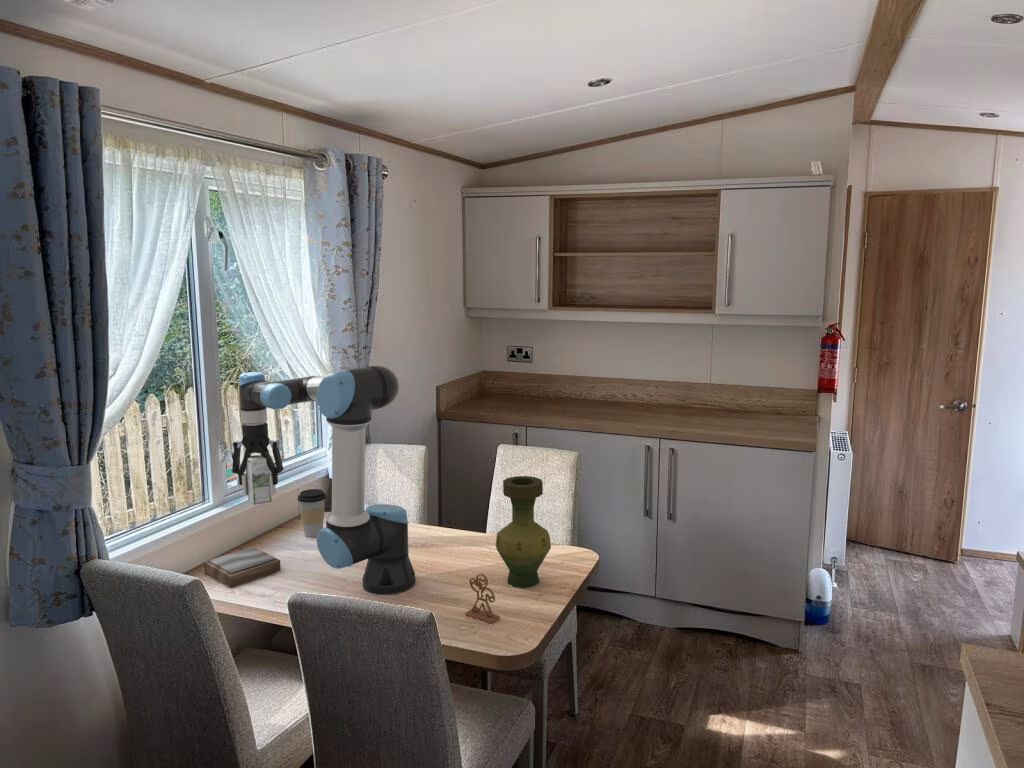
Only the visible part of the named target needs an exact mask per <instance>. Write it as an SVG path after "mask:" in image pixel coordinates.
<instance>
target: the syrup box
mask: <svg viewBox="0 0 1024 768" xmlns="http://www.w3.org/2000/svg"><path fill="white" fill-rule="evenodd" d="M245 471H246V472H245V473H247V488H248V494H247V500H248V502H249V503H251V504H252V505H254V506H255V505H259V504H264V503H265V504H266V503H271V502H272V500H273V499H272V496H271V495H270V480H269V475H270V474H271V472H270V470H269V468H268V466H267V464H266V459H265V458H263V456H262V455H261V453H258V454H253V455H251V456H249V457H248V459H247V464H246V470H245Z"/></svg>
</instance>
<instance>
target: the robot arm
mask: <svg viewBox="0 0 1024 768" xmlns="http://www.w3.org/2000/svg"><path fill="white" fill-rule="evenodd" d="M399 385H400V384H399V380H398V378H397V376H396V374H395V373H394V372H393V371H392V370H391V369H389V368H388V367H385V366H382V365H371V366H364V367H356V368H349V369H340V370H339V369H338V370H337V371H331V372H328V373H327V374H325V375H310V376H306V377H298V378H292V379H285V380H278V381H266V378H265V374H264V372H260V371H249V372H248V371H247V372H243V373H240V375H239V376H238V392H239V393H238V394H239V395H238V396H239V406H240V416H241V417H240V418H241V419H240V422H241V423H242V425H241V434H242V439H241V440H236V441H233V443H232V447H233V457H232V459H233V460H232V466H231V467H232V468H231V472H232V474H237V475H238V482H239V483H238V484H239V485H240V486H241V487H242V496H243V497H246V496H248V488H247V473H246V464H247V459H248V457H249V456H252V454H255V453H257V454H261V455H262V456H263V458H265V459H266V464H267V466H268V468H269V470H270V475H269V480H270V495H271V497H273V496H275V495H276V493H277V491H276V490H277V489H276V485H278V483H279V479H278V478H279V477H278V474H280V473H282V472H284V466H283V465H284V464H283V462H282V458H281V456H282V455H281V452H280V447H279V446H280V441H279V440H278V439H276V440H271V439H270V437H269V424H268V423H267V421H268V412H267V409H271V410H281V409H284V408H286V407H287V406H289V405H290V406H291V405H295V404H301V403H308V402H316V403H317V406H318V410H319V412H320V413H321V414H322V415H323V416H324V417H325V418H326V422H327V424H329V425H330V426H331V428H332V429H331V447H332V448H331V510H330V512H329V513H328V514H327V515H326V517H325V518H326V519H325V527H323V528H322V529H321V530H320V531H319V532H318V534H317V537H316V545H317V546H316V547H317V549H318V551H319V554H320V556H321V558H322V559H323V561H324V562H325V563H326V564H327V565H328V566H330V567H331V568H333V569H336V570H337V569H338V570H340V569H343V568H347V567H349V568H350V567H352V566H353V565H354V564H358V563H361V562H364V561H365V560H367V561H366V565H365V569H364V573H363V575H362V578H361V579H362V580H361V581H362V588H363V589H364V590H365V591H366V592H368V593H370V594H374V593H376V594H375V595H394V594H393V593H395V594H399V593H404V592H405V591H408V590H410V589H411V588H413V587H414V586H415V585H416V573H415V570H414V567H413V565H412V562H411V559H410V555H409V527H408V524H409V521H408V513H407V510H406V509H405V508H404V507H402V506H400V505H396V504H387V503H386V504H385V503H377V504H372V505H368V506H367V507H366V508H365V491H366V489H365V487H366V486H365V485H366V484H365V483H366V481H365V480H366V476H365V474H366V428H367V426H368V425H369V424H370V423H371V422H372V413H373V412H372V411H375V410H378V409H382V408H385V407H387V406H389V405H390V404H392V403H393V402H394V401H395V399H396V398H397V396H398V394H399V389H400V386H399ZM269 445H270V447H271V452H272V455H273V459H274V461H273V459H272V456H271V454H270V450H269V449H268V446H269ZM242 447H244V448H245V452H244V456H243V458H242V461H241V453H242V451H241V450H242ZM240 461H241V462H240ZM240 463H241V464H240Z"/></svg>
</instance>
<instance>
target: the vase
mask: <svg viewBox="0 0 1024 768" xmlns="http://www.w3.org/2000/svg"><path fill="white" fill-rule="evenodd" d="M543 486H544V484H543V480H542V479H541V478H538V477H536V476H530V475H529V476H528V475H520V476H519V475H516V476H511V477H507V478H506V479H504V480H503V481H502V493H503V496H504V497H507V498H509V500H510V502H511V506H512V507H511V509H512V511H511V516H512V517H511V522H509V523H507V525H505V526H504V527H503V528H501V529H500V530H499V531H497V532H496V538H495V539H496V540H495V547H496V551H497V552H498V554H499V555H500V558H501V559H502V561H503V562H504V563H505V565H506V567H507V569H508V570H509V572H508V576H507V580H506V581H507V584H508V585H509V586H511V585H512V586H511V587H513V588H518V587H519V588H518V589H528V588H533V587H536V586H538V584H539V583H540V578H539V574H538V570H539V569H540V566H541V565H542V563H543V562H544V560H545V559H546V557H547V555H548V553H549V552H550V551H551V548H552V546H551V545H552V544H551V537H550V533H549V531H548V530H547V529H546V528H544V527H543V526H542V525H540V524H538V523H537V522H536V521H535V517H534V515H535V511H534V509H535V503H536V500H537V498H539V497H540V496H542V495H543V492H544V491H543V490H544V488H543Z"/></svg>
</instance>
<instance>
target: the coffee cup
mask: <svg viewBox="0 0 1024 768" xmlns="http://www.w3.org/2000/svg"><path fill="white" fill-rule="evenodd" d="M326 498H327V494H326V493H325V491H324V490H322V489H319V488H318V489H317V488H314V489H313V488H311V489H305V490H302V491H300V492H299V495H298V496H297V501H298V502H299V511H300V517H301V523H302V526H303V532H304V536H305V537H306V538H313V539H314V538H317V534H318V532H319V531H320V530H321V529H322V528H324V521H325V520H324V519H325V500H326Z"/></svg>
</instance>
